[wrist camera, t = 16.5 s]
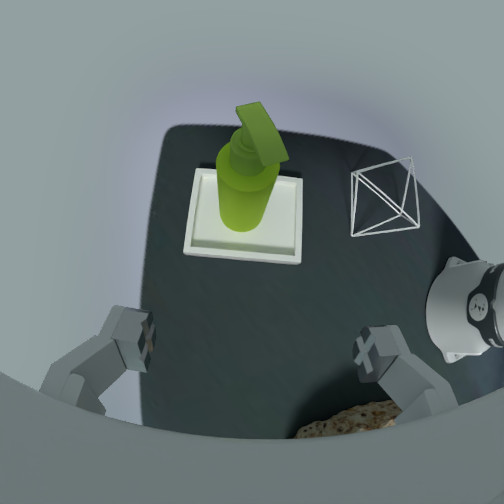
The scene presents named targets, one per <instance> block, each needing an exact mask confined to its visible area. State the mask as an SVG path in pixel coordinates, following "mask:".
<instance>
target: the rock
mask: <svg viewBox="0 0 504 504" xmlns="http://www.w3.org/2000/svg"><path fill="white" fill-rule="evenodd" d="M401 412H403V411H402V410H401V409H400V408H399V406H398V405H397V404H396V403H395V402H394V401H393V400H387V401H383V402H370V403H368V404H366V405H362V406H355V407H353V408H350V409H348V410H345V411H342V412H339V413H338V414H337V415H334V416H332V417H331V418H330V419H329V420H326V421H314V422H313V423H312V424H309V425H307V426H304V427H302V428H300V429H299V430H298V432H297V434H296V436H295V437H294V438H293V439H300V438H315V437H326V436H336V435H344V434H351V433H358V432H364V431H370V430H375V429H380V428H385V427H390V426H394V425H395V421H394V420H395V418H396V417H397V416H398V415H399V414H400V413H401Z"/></svg>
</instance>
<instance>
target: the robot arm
mask: <svg viewBox="0 0 504 504" xmlns="http://www.w3.org/2000/svg"><path fill="white" fill-rule="evenodd" d="M152 321H153V314H152V312H151V311H145V310H140V309H134V308H129V307H123V306H117V305H115V306H113V307H112V309H111V311H110V313H109V315H108V317H107V319H106V321H105V323H104V325H103V327H102V329H101V331H100V333H99V335H98V336H96V335H95V336H93V337H92V338H90V339H89V340H87V341H86V342H84V343H83V344H81V345H80V346H78V347H77V348H75V349H74V350H72V351H71V352H69V353H68V354H66V355H65V356H63V357H62V358H60V359H59V360H58V361H56V362H54V363H53V364H51V366H50V368H49V371H48V372H47V375H46V377H45V379H44V381H43V383H42V386H41V388H40V390H39V391H37V390H35V389H33V388H30V387H29V386H27V385H24V384H22V383H20V382H19V381H16V380H15V379H13V378H11V377H9V376H7V375H5V374H3V373H2V372H0V504H504V387H503V388H500V389H498V390H496V391H494V392H492V393H490V394H487V395H485V396H483V397H481V398H478V399H476V400H473V401H471V402H469V403H466V404H463V405H461V406H458V403H457V401H456V398H455V396H454V393H453V391H452V389H451V386H450V384H449V383H448V382H447V381H446V380H445V379H443V378H442V377H441V376H440V375H439V374H437V373H436V372H435V371H434V370H433V369H431V368H430V367H429V366H428V365H427V364H425V363H424V362H423V361H422V360H421V359H419V358H418V357H417V356H416V355H414V354H411V353H410V351H409V348H408V346H407V344H406V342H405V340H404V338H403V336H402V333H401V331H400V329H399V327H398V326H397V325H386V326H385V325H380V326H364V327H363V328H362V330H361V332H360V333H361V336H360V337H359V338H358V339H356V341H355V343H354V345H353V350H352V353H353V359H354V361H355V362H356V363H357V364H358V365H359V366H358V368H357V373H358V376H359V380H360V383H365V382H378V384H379V385H380V386H381V387H382V388H383V389H384V390H385V392H386V393H387V394H388V395H389V396H390V397H391V398H392V400H393V401H394V402H395V403H396V404H397V405H398V406H399V408H400V409H401V410H402V411H403V412H401V413H400V414H399V415H398V416H397V417H396V418H395V420H394V421H395V425H394V426H390V427H385V428H380V429H375V430H370V431H364V432H358V433H351V434H344V435H336V436H326V437H315V438H300V439H237V438H222V437H211V436H201V435H193V434H186V433H179V432H173V431H167V430H161V429H156V428H151V427H146V426H142V425H137V424H133V423H129V422H125V421H121V420H118V419H114V418H110V417H107V416H105V412H106V409H105V408H104V406H103V405H102V403H101V402H100V401H99V399H98V397H99V396H100V395H101V394H102V393H103V392H104V391H105V390H106V389H107V388H108V387H109V386H110V385H111V384H112V383H113V382H115V381H116V380H117V379H118V378H119V377H120V376H121V375H122V374H123V373H124V372H125V371H126V369H129V370H135V371H140V372H146V373H147V370H148V367H149V363H150V360H151V357H150V354H149V353H150V352H151V351H152V350H154V346H155V341H156V329H155V326H154V325H153V324H152ZM426 321H427V327H428V331H429V334H430V337H431V339H432V341H433V342H434V344H435V345H436V346H437V347H438V348H439V349H440V350H441V351H442V353H443V356H444V359H445V361H446V362H447V363H453V362H455V361H457V360H459V359H460V358H462V357H464V356H466V355H481V354H482V352H484V351H486V350H487V349H488V348H490V347H491V346H496V347H503V346H504V263H501V264H498V265H496V266H494V264H487V261H483V260H477V261H472V262H466V261H463V260H461V259H459V258H457V257H450V258H449V259H448V261H447V263H446V266H445V268H444V270H443V271H442V272H441V273H440V274H439V275H438V277H437V278H436V279H435V281H434V282H433V284H432V286H431V289H430V291H429V295H428V299H427V305H426Z"/></svg>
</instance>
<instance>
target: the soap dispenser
mask: <svg viewBox="0 0 504 504" xmlns="http://www.w3.org/2000/svg"><path fill="white" fill-rule="evenodd" d="M236 113H237V115H238V117H239V119H240V121H241V122H242V128H240V129H238V130H236V131H235V132H234V133H233V135H232V137H231V140H230V142H229V143H227V144H226V145H225V146H224V147H223V148H222V149H221V150H220V152H219V154H218V156H217V159H216V172H217V185H218V198H219V211H220V217H221V220H222V222H223V223H224V225H225V226H226V227H228V228H229V229H231V230H233V231H235V232H248V231H251V230H253V229H254V228H256V227H257V226H258V225H259V223H260V222H261V220H262V217H263V215H264V212H265V209H266V206H267V204H268V201H269V198H270V195H271V193H272V190H273V187H274V185H275V182H276V179H277V176H278V174H279V170H280V162H283V161H287V160H289V157H288V154H287V152H286V149H285V147H284V144H283V142H282V139H281V137H280V135H279V133H278V131H277V129H276V127H275V125H274V123H273V122H272V120H271V118H270V117H269V115H268V114H267V112H266V110H265V109H264V107H263V106H262V104H261V103H260V102H256V103H251V104H246V105H241V106H237V107H236Z"/></svg>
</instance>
